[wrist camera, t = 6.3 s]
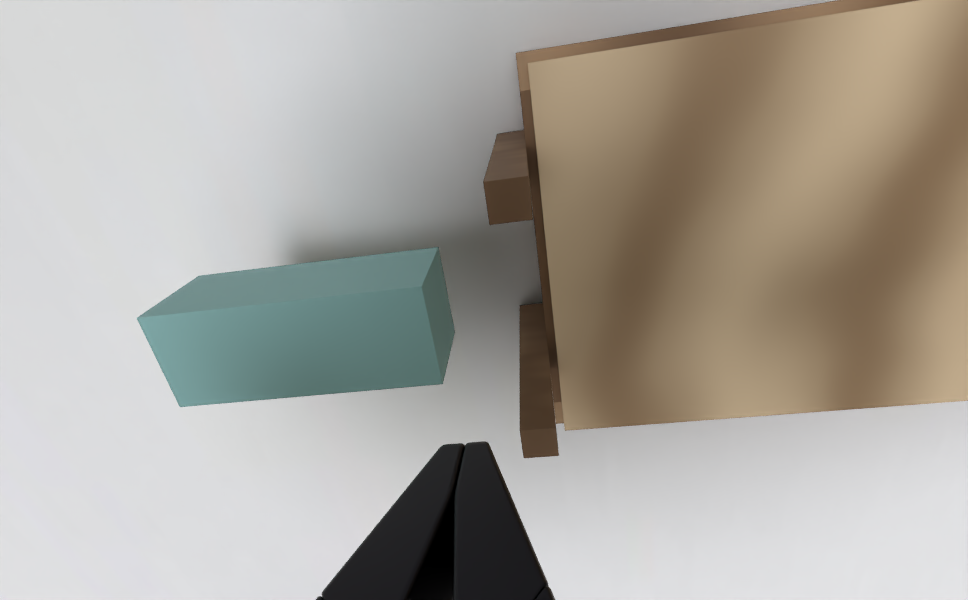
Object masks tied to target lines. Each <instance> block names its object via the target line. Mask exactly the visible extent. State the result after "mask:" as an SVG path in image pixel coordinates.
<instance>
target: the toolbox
mask: <svg viewBox="0 0 968 600" xmlns="http://www.w3.org/2000/svg"><path fill="white" fill-rule="evenodd" d="M911 1H918V0H838V1H832V2H826V3H820V4H813V5H807V6H801V7H795V8H789V9H783V10H777V11H771V12H764V13H758V14H752V15H746V16H740V17H734V18H728V19H721V20H715V21H709V22H703V23H697V24H691V25H685V26H679V27H672V28H666V29H660V30H654V31H648V32H642V33H636V34H630V35H623V36H617V37H611V38H605V39H599V40H593V41H587V42H581V43H574V44H568V45H562V46H556V47H550V48H544V49H538V50H532V51H525V52H519V53H516V60H517V69H518V78H519V87H520V96H521V106H522V115H523V124H524V130H521V131H514V132H507V133H500V134H497V136H496V140H495V143H494V147H493V150H492V154H491V157H490V161H489V164H488V167H487V171H486V174H485V178H484V181H483V183H484V190H485V197H486V204H487V211H488V217H489V224H490V225H493V224H501V223H509V222H517V221H525V220H533V216H534V225H535V235H536V244H537V253H538V262H539V271H540V281H541V290H542V299H543V303H539V304H530V305H520V435H521V442H522V449H523V456H524V458H533V457H547V456H559V453H558V443H557V433H556V424H558V423H564V419H563V409H562V399H561V389H560V380H559V370H558V360H557V350H556V340H555V330H554V320H553V310H552V300H551V290H550V280H549V270H548V260H547V250H546V240H545V230H544V220H543V211H542V201H541V191H540V181H539V171H538V161H537V151H536V141H535V131H534V121H533V111H532V101H531V91H530V81H529V71H528V63H531V62H537V61H544V60H550V59H556V58H562V57H569V56H575V55H581V54H587V53H594V52H600V51H606V50H612V49H618V48H625V47H631V46H637V45H643V44H650V43H656V42H662V41H668V40H675V39H681V38H687V37H693V36H699V35H706V34H712V33H718V32H724V31H731V30H737V29H743V28H749V27H756V26H762V25H768V24H774V23H780V22H787V21H793V20H799V19H805V18H812V17H818V16H824V15H830V14H837V13H843V12H849V11H855V10H861V9H868V8H874V7H880V6H886V5H893V4H899V3H905V2H911ZM529 179H530V180H529ZM530 188H531V192H530ZM531 198H532V203H531ZM532 207H533V215H532ZM551 382H552V383H551ZM552 391H553V393H552ZM553 400H554V403H553ZM554 409H555V413H554ZM555 419H556V423H555Z"/></svg>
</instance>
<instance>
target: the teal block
mask: <svg viewBox="0 0 968 600" xmlns="http://www.w3.org/2000/svg"><path fill="white" fill-rule="evenodd" d="M137 320H138V322H139V324H140V326H141V328H142V330H143V332H144V334H145V336H146V338H147V340H148V342H149V344H150V346H151V348H152V351H153V353H154V355H155V357H156V359H157V361H158V363H159V365H160V367H161V369H162V371H163V373H164V375H165V377H166V379H167V381H168V384H169V386H170V388H171V390H172V392H173V394H174V396H175V398H176V400H177V402H178V404H179V406H180V407H186V406H198V405H209V404H220V403H232V402H243V401H255V400H266V399H277V398H289V397H300V396H312V395H323V394H334V393H346V392H357V391H369V390H380V389H391V388H403V387H414V386H426V385H437V384H443V380H444V376H445V372H446V368H447V363H448V359H449V355H450V351H451V346H452V342H453V338H454V334H455V330H454V325H453V320H452V315H451V310H450V304H449V299H448V294H447V289H446V284H445V279H444V273H443V268H442V263H441V258H440V253H439V248H438V247H435V248H426V249H418V250H410V251H401V252H393V253H385V254H376V255H368V256H360V257H351V258H343V259H335V260H326V261H318V262H310V263H302V264H293V265H285V266H277V267H268V268H260V269H252V270H243V271H235V272H227V273H218V274H210V275H202V276H198V277H196V278H195V279H194V280H192V281H191V282H189V283H188V284H186V285H185V286H183V287H182V288H180V289H179V290H177V291H176V292H174V293H173V294H171V295H170V296H169V297H167V298H166V299H164V300H163V301H161V302H160V303H158V304H157V305H155V306H154V307H152V308H151V309H149V310H148V311H146V312H145V313H143V314H142V315H141V316H139V317H138V318H137Z"/></svg>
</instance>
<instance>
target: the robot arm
mask: <svg viewBox="0 0 968 600" xmlns="http://www.w3.org/2000/svg"><path fill="white" fill-rule="evenodd" d="M322 597H323V598H322ZM322 597H321V596H319V597H318V598H317V599H316V600H555V598H554V596H553V593H552V591H551V589H550V588H549V586H548V582H547V580H546V577H545V575H544V573H543V570H542V568H541V566H540V563H539V561H538V559H537V556H536V554H535V552H534V549H533V547H532V544H531V542H530V540H529V537H528V535H527V533H526V530H525V528H524V526H523V523H522V521H521V519H520V516H519V514H518V511H517V509H516V507H515V504H514V502H513V500H512V497H511V495H510V493H509V490H508V488H507V486H506V483H505V481H504V478H503V476H502V474H501V471H500V469H499V467H498V464H497V462H496V460H495V457H494V455H493V453H492V450H491V448H490V445H489V444H488V443H487V442H472V443H467V444H466V445H464V444H462V443H459V444H446V445H443V446H441V447H440V448H439V449H438V451H437V452H436V453H435V454H434V456H433V457H432V458H431V459H430V460H429V462H428V463H427V464H426V465H425V467H424V468H423V469H422V470H421V471H420V473H419V474H418V475H417V476H416V478H415V479H414V480H413V481H412V482H411V484H410V485H409V486H408V487H407V489H406V490H405V491H404V492H403V494H402V495H401V496H400V497H399V498H398V500H397V501H396V502H395V503H394V505H393V506H392V507H391V508H390V509H389V511H388V512H387V513H386V514H385V516H384V517H383V518H382V519H381V521H380V522H379V523H378V524H377V525H376V527H375V528H374V529H373V530H372V532H371V533H370V534H369V535H368V536H367V538H366V539H365V540H364V541H363V543H362V544H361V545H360V546H359V548H358V549H357V550H356V551H355V552H354V554H353V555H352V556H351V557H350V559H349V560H348V561H347V562H346V563H345V565H344V566H343V567H342V568H341V570H340V571H339V572H338V573H337V574H336V576H335V577H334V578H333V579H332V581H331V582H330V583H329V584H328V586H327V587H326V588H325V589H324V590H323V592H322Z"/></svg>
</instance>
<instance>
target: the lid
mask: <svg viewBox="0 0 968 600" xmlns="http://www.w3.org/2000/svg"><path fill="white" fill-rule="evenodd" d="M528 71H529V81H530V91H531V101H532V111H533V121H534V131H535V141H536V151H537V161H538V171H539V181H540V191H541V201H542V211H543V220H544V230H545V240H546V250H547V260H548V270H549V280H550V290H551V300H552V310H553V320H554V330H555V340H556V350H557V360H558V370H559V380H560V389H561V399H562V409H563V419H564V427H565V431H566V430H579V429H593V428H606V427H620V426H633V425H647V424H660V423H673V422H687V421H700V420H714V419H727V418H741V417H754V416H768V415H781V414H794V413H808V412H821V411H835V410H848V409H862V408H875V407H888V406H902V405H915V404H929V403H942V402H956V401H968V0H918V1H911V2H905V3H899V4H893V5H886V6H880V7H874V8H868V9H861V10H855V11H849V12H843V13H837V14H830V15H824V16H818V17H812V18H805V19H799V20H793V21H787V22H780V23H774V24H768V25H762V26H756V27H749V28H743V29H737V30H731V31H724V32H718V33H712V34H706V35H699V36H693V37H687V38H681V39H675V40H668V41H662V42H656V43H650V44H643V45H637V46H631V47H625V48H618V49H612V50H606V51H600V52H594V53H587V54H581V55H575V56H569V57H562V58H556V59H550V60H544V61H537V62H531V63H528Z"/></svg>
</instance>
